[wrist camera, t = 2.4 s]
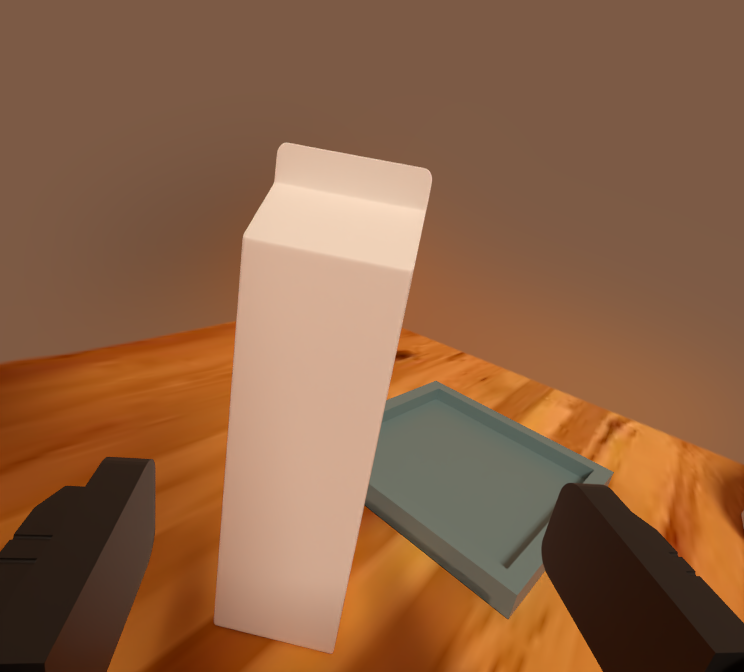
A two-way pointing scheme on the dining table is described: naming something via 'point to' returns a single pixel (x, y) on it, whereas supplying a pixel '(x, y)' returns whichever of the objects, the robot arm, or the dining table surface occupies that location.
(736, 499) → the dining table surface
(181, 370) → the dining table surface
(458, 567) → the tray
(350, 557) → the milk
